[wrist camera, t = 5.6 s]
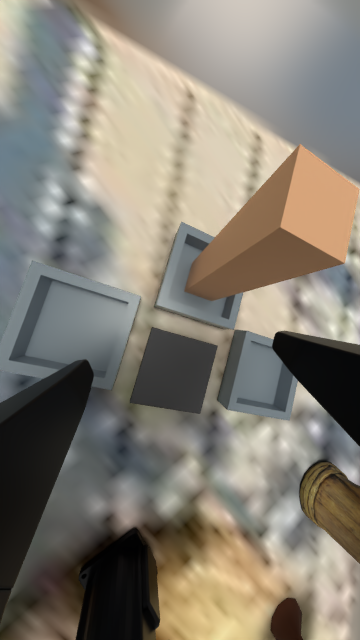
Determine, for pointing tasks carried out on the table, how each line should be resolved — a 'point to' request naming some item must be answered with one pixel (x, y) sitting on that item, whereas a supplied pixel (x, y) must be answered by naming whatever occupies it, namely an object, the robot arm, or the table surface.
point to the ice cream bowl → (287, 621)
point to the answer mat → (174, 372)
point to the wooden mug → (333, 505)
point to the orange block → (280, 231)
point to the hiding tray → (175, 279)
